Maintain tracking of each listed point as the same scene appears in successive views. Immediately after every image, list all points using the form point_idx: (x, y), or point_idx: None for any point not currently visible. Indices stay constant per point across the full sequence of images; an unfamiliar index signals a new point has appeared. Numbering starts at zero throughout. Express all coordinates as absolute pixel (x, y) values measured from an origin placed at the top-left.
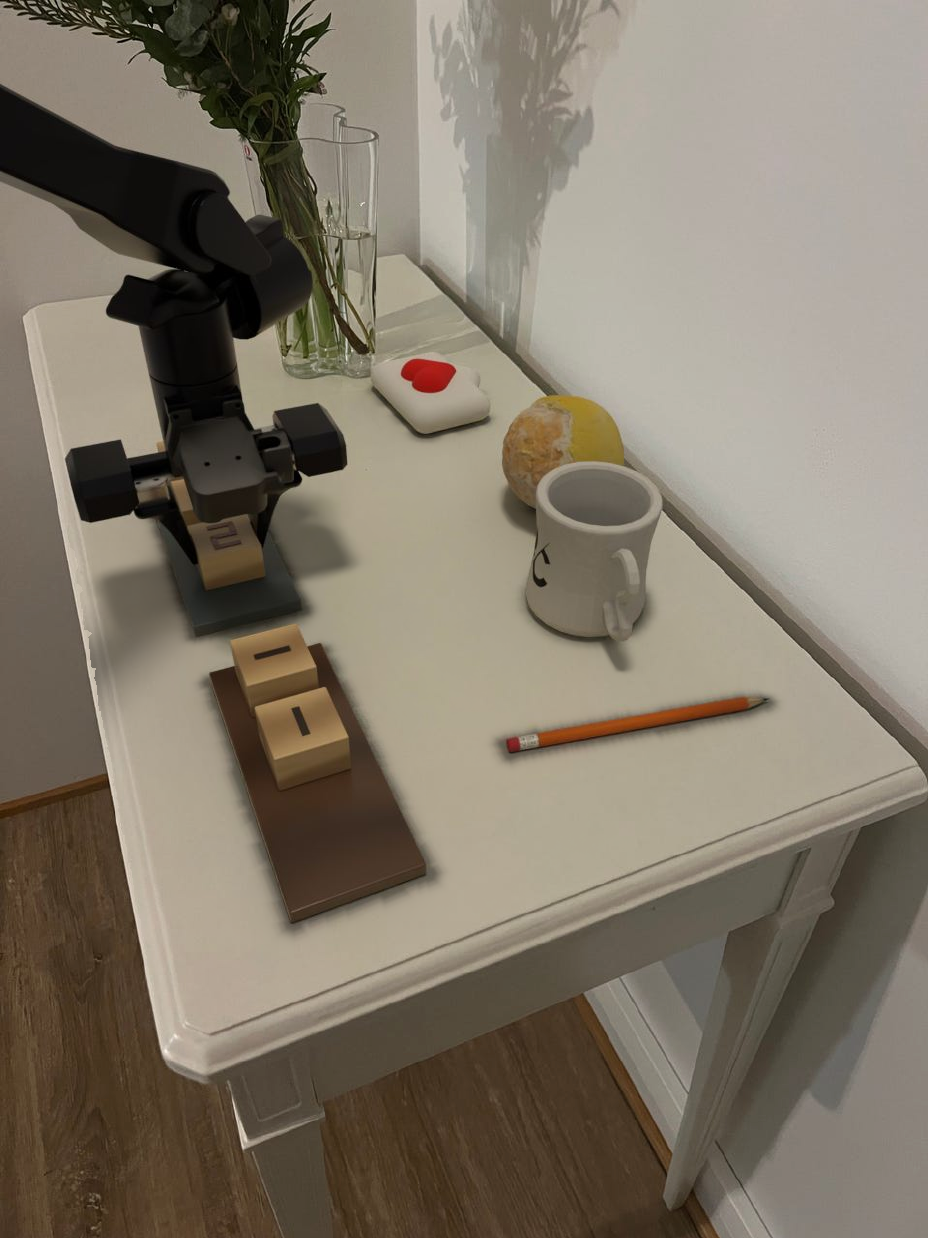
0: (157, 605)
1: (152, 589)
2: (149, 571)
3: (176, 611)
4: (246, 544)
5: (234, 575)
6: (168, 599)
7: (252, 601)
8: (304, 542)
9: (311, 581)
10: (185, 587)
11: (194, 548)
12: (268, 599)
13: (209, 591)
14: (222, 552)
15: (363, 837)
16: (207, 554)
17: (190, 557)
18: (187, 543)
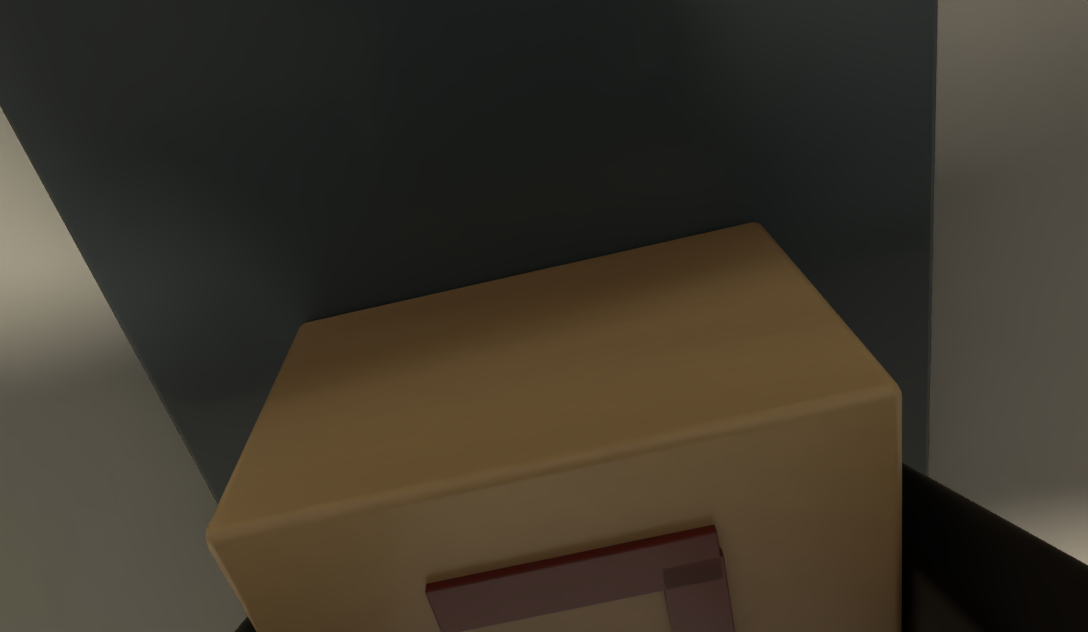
0: (1059, 194)
1: (1044, 348)
2: (1017, 493)
3: (956, 110)
4: (370, 567)
5: (532, 305)
6: (977, 244)
7: (385, 18)
8: (135, 627)
9: (4, 296)
10: (900, 278)
11: (920, 556)
12: (239, 21)
13: (734, 212)
14: (637, 475)
15: None
16: (804, 462)
17: (916, 484)
18: (1039, 609)
